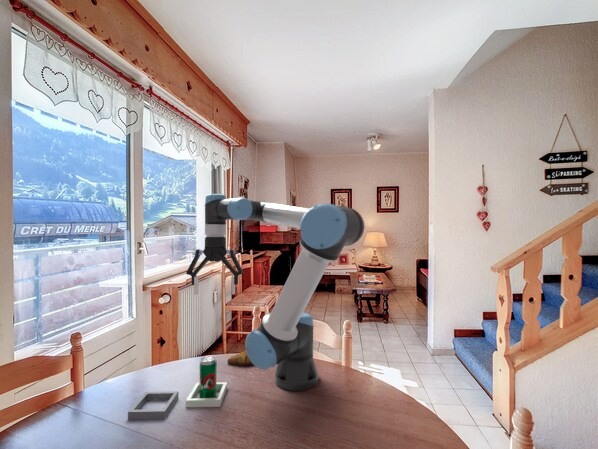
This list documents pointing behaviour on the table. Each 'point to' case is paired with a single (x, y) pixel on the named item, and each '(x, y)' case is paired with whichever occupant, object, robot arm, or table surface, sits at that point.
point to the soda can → (208, 377)
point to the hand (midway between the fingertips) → (214, 293)
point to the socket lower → (206, 402)
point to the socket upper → (153, 413)
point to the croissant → (240, 359)
